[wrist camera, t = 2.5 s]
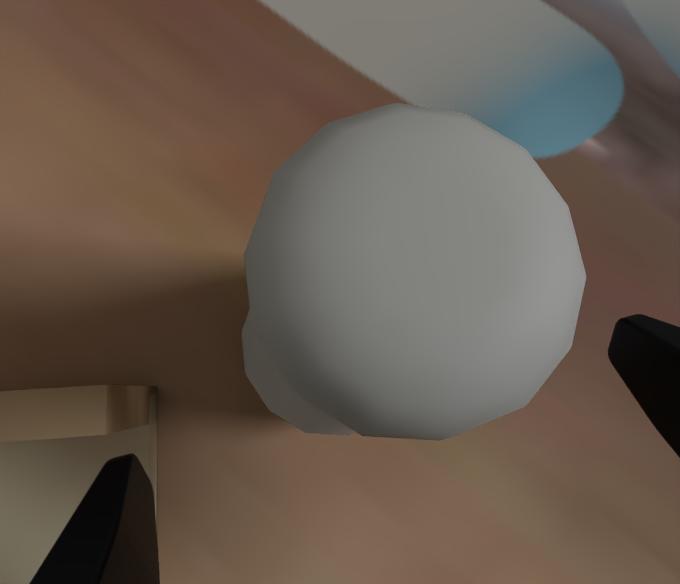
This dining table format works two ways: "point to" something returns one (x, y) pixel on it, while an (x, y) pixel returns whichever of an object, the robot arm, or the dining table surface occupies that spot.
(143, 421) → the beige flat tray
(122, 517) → the robot arm
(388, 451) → the dining table surface
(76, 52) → the dining table surface
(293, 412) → the salt shaker
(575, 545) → the dining table surface
